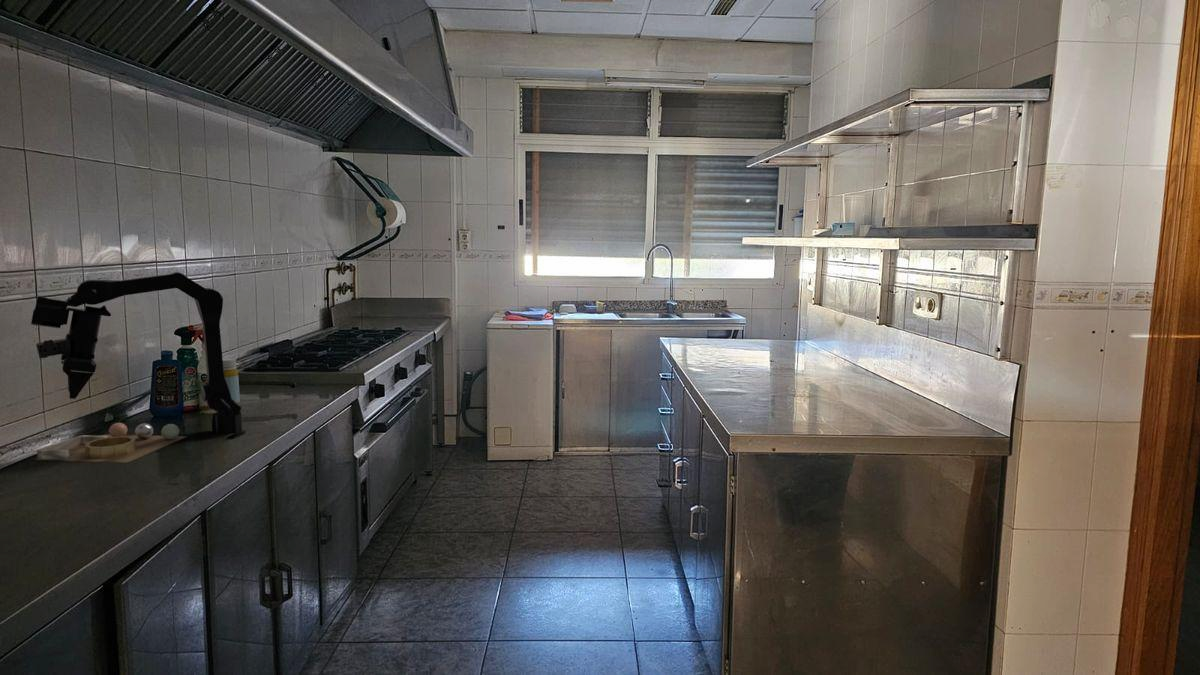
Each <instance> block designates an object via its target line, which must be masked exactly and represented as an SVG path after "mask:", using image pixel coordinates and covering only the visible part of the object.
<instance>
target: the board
mask: <svg viewBox="0 0 1200 675" xmlns="http://www.w3.org/2000/svg"><path fill="white" fill-rule="evenodd" d="M125 436H127V437H133V438H135V439H136V450H135V451H133V452H131V453H129V454H125V455H121V456H116V457H108V458H90V457H87V456H85V445H86V443H88V442H91V441H93V440H97V439H102V438H107V437H112V436H111V435H110V433H109V434H105V433H104V434H102V435H91V434H90V435H88V434H87V435H86V434H85V435H84V434H83V435H78V436H75V437H72V438H69V439H66V440H63V441H60V442H58V443H54V444H52V445H50V446H46V447H43V448H41V449H38V450H36V453H37V454H36V455H37V456H36V457H37V458H35V459H34V461H61V462H63V461H65V462H91V463H92V462H94V463H95V462H97V463H98V462H99V463H100V462H101V463H129V462H132V461H134V460H137V459H139V458H141V457H144V456H145V455H148V454H150V453H153V452H154V451H158V450H160V449H162V448H165V447H168V446H169V445H171V444H173V443H175V442H178V441H180V440H183V439H185V438H188V436H186V435H185V436H181V435H178V436H177V437H176V438H174V439H171V440H168V439H165V438H164V437H163V436H162V435H151V436H150V437H149V438H147V439H141V438H138V437H137V436H136V434H126V435H125Z"/></svg>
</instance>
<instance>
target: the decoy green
mask: <svg viewBox="0 0 1200 675" xmlns="http://www.w3.org/2000/svg"><path fill="white" fill-rule="evenodd" d="M160 434H161V436H163V437H164V438H165V439H168V440H171V439H174V438H176V437H177V436H179V434H180V428H179V426H177V425H176V424H173V423H168V424H166V425H164V426H163V427H162V429H161V432H160Z"/></svg>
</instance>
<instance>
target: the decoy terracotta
mask: <svg viewBox="0 0 1200 675" xmlns="http://www.w3.org/2000/svg"><path fill="white" fill-rule="evenodd" d="M108 433H109V434H110V435H111V436H112V437H118V436H125V435H128V434H127V433H128V426H127V425H126V424H124V423H123V422H115V423H113V424H112V425H110V427H109V430H108Z"/></svg>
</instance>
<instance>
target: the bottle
mask: <svg viewBox="0 0 1200 675" xmlns="http://www.w3.org/2000/svg"><path fill="white" fill-rule="evenodd" d="M222 358H223V370H224V377H225V379H226V382H227V385H228V388H229V391H230V395H231V399H232V400H234V401H235V402H236V403H237V404H239V405H240V403H241V402H240V401H241V399H240V383H239V381H240V380H239V371H238V370H237V359H236V358H235V357H222Z"/></svg>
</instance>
